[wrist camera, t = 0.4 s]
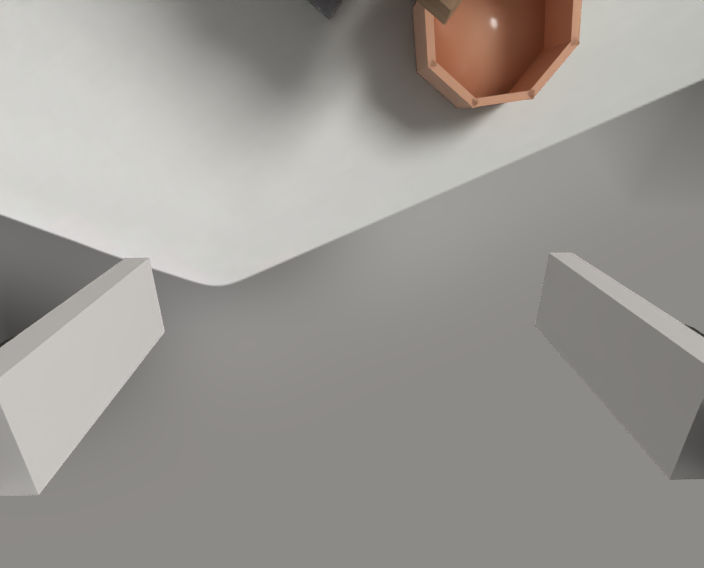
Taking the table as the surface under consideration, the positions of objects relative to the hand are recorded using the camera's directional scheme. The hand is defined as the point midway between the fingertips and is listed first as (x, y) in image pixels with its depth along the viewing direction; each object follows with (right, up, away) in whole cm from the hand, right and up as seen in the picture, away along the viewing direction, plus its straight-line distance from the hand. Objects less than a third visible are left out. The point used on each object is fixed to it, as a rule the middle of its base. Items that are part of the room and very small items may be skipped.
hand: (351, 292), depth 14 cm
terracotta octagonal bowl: (+11, +21, +21) cm, 32 cm away
